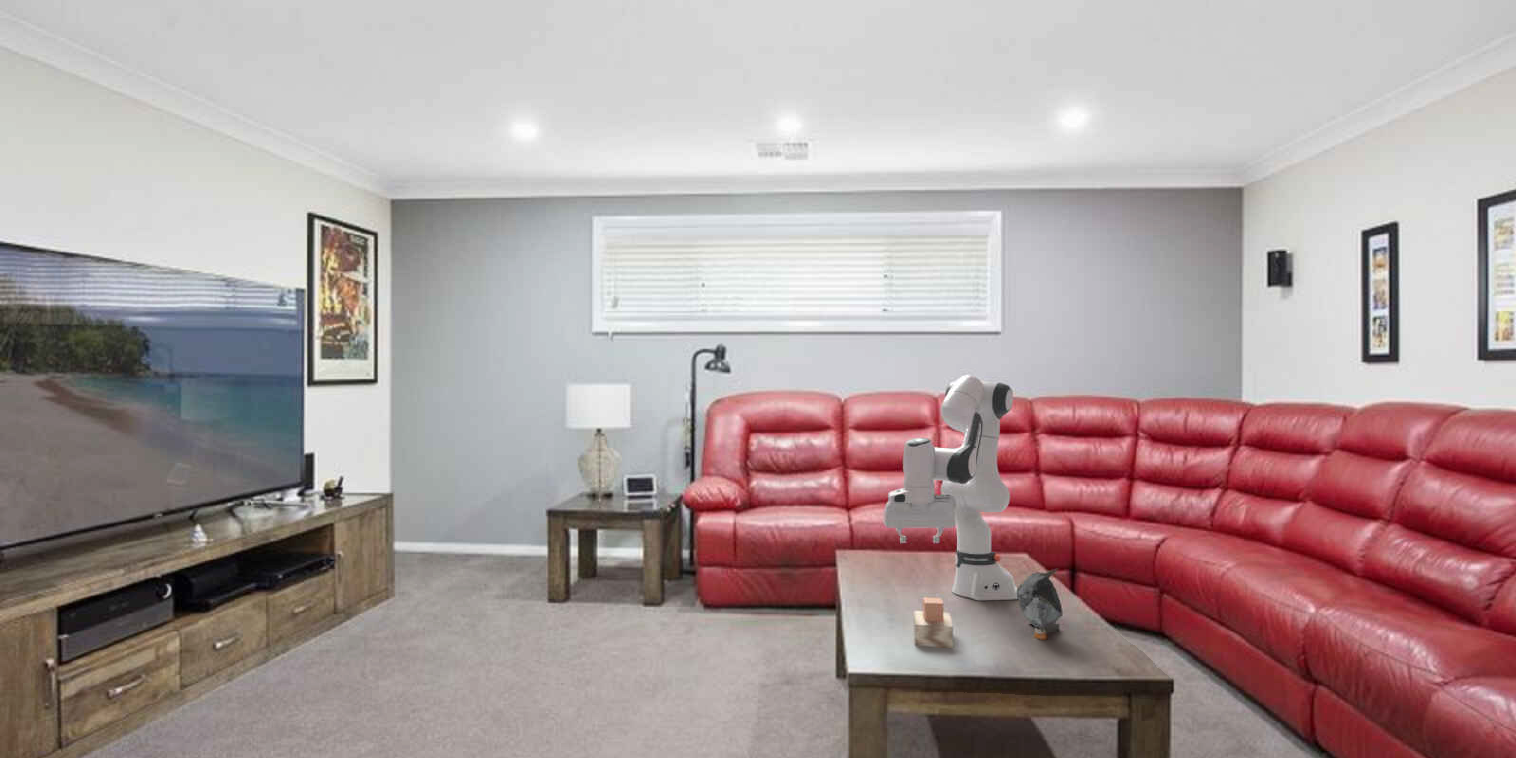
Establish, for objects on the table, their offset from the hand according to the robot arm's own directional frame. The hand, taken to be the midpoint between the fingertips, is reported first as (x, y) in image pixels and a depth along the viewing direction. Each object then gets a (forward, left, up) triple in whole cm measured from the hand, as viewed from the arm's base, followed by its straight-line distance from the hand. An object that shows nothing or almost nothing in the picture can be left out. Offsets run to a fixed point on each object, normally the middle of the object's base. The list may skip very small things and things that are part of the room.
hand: (919, 542), depth 220 cm
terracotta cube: (-3, +7, -20) cm, 21 cm away
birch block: (-3, +7, -26) cm, 27 cm away
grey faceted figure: (-34, +1, -26) cm, 43 cm away
